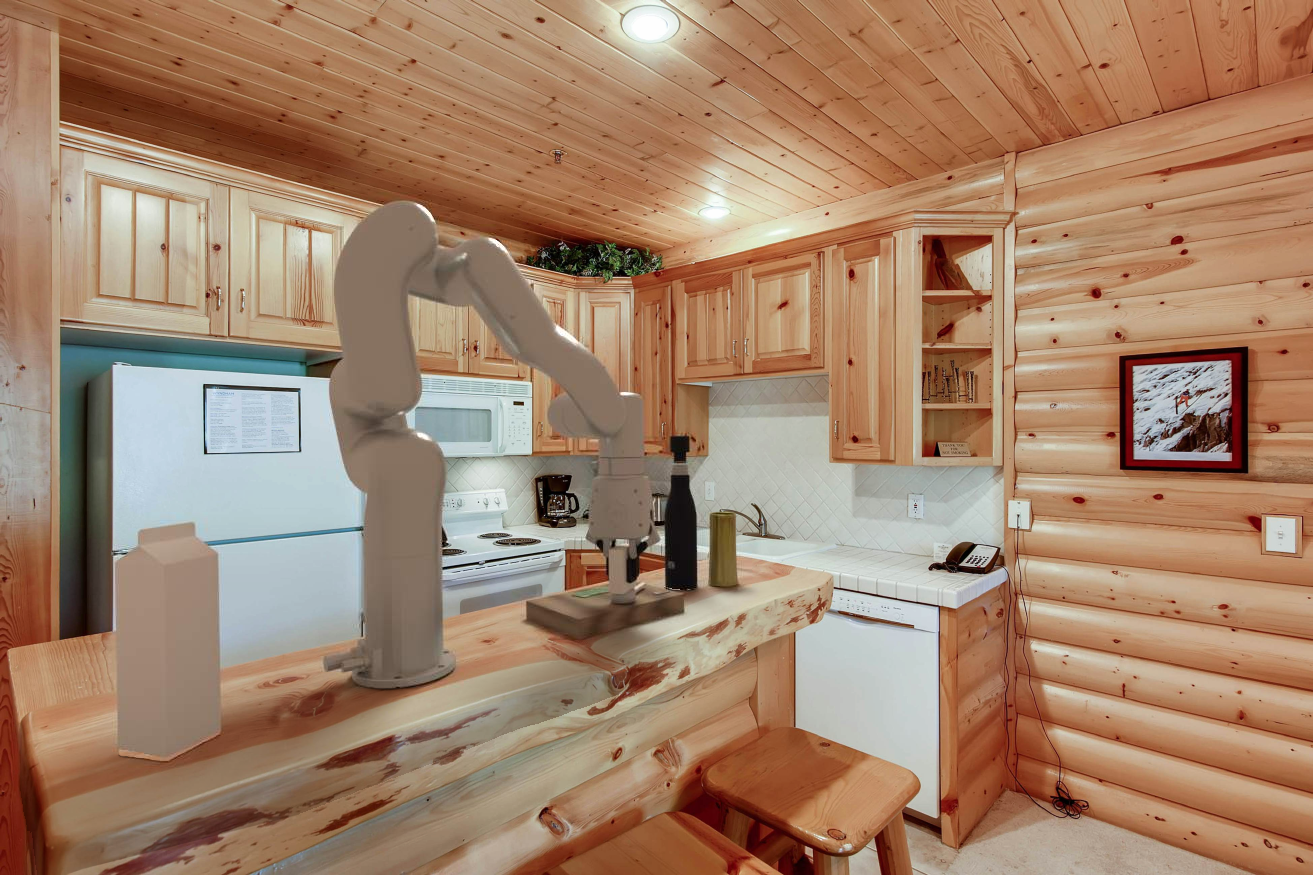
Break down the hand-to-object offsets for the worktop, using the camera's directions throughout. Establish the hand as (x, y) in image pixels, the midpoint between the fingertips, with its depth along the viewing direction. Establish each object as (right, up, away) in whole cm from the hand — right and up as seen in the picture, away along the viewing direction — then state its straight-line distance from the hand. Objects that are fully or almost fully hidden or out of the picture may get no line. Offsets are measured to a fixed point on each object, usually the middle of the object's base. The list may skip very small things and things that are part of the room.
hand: (622, 579), depth 107 cm
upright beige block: (+1, -3, +3) cm, 5 cm away
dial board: (-3, -7, +3) cm, 8 cm away
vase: (+19, -6, +25) cm, 32 cm away
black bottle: (+10, -7, +23) cm, 26 cm away
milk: (-43, -8, -42) cm, 60 cm away
